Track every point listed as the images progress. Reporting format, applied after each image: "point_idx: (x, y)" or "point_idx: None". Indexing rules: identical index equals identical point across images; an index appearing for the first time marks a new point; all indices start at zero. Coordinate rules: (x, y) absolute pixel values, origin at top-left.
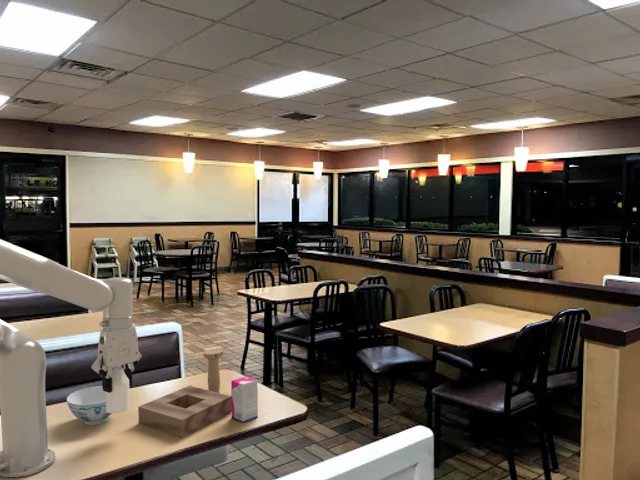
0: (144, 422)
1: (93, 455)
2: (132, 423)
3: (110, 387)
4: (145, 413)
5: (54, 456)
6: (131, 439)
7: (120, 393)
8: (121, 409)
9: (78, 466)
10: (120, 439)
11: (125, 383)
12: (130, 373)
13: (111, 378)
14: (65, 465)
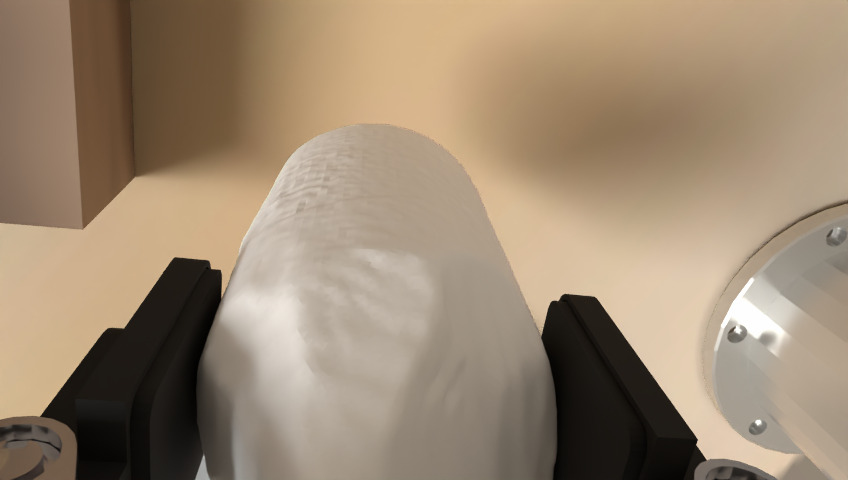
0: (124, 113)
1: (658, 77)
2: (163, 221)
3: (615, 328)
4: (94, 113)
5: (786, 247)
6: (371, 10)
7: (455, 207)
8: (423, 139)
9: (801, 46)
10: (406, 93)
11: (377, 240)
12: (137, 384)
13: (658, 428)
14: (802, 134)
